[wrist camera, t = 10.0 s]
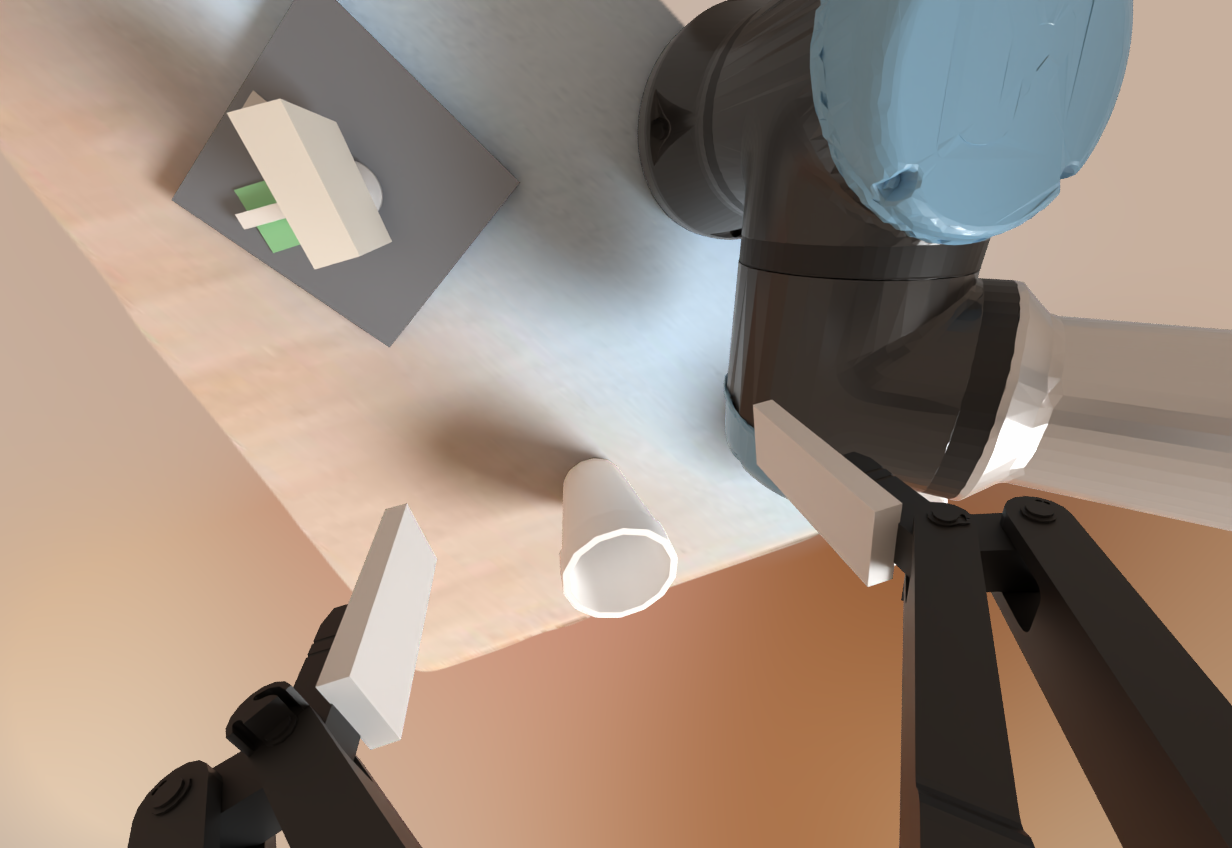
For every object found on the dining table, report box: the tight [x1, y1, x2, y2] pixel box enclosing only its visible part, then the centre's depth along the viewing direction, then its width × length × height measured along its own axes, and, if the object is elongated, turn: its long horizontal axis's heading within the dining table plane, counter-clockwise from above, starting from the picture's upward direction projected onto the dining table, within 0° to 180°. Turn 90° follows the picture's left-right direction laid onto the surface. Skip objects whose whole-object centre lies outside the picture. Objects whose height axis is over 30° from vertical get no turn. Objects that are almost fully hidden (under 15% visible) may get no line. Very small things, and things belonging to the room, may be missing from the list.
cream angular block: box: [227, 99, 392, 269], centre depth 26 cm, size 7×9×10 cm
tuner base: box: [172, 0, 520, 347], centre depth 32 cm, size 16×15×2 cm
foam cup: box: [559, 458, 678, 618], centre depth 42 cm, size 10×9×13 cm
